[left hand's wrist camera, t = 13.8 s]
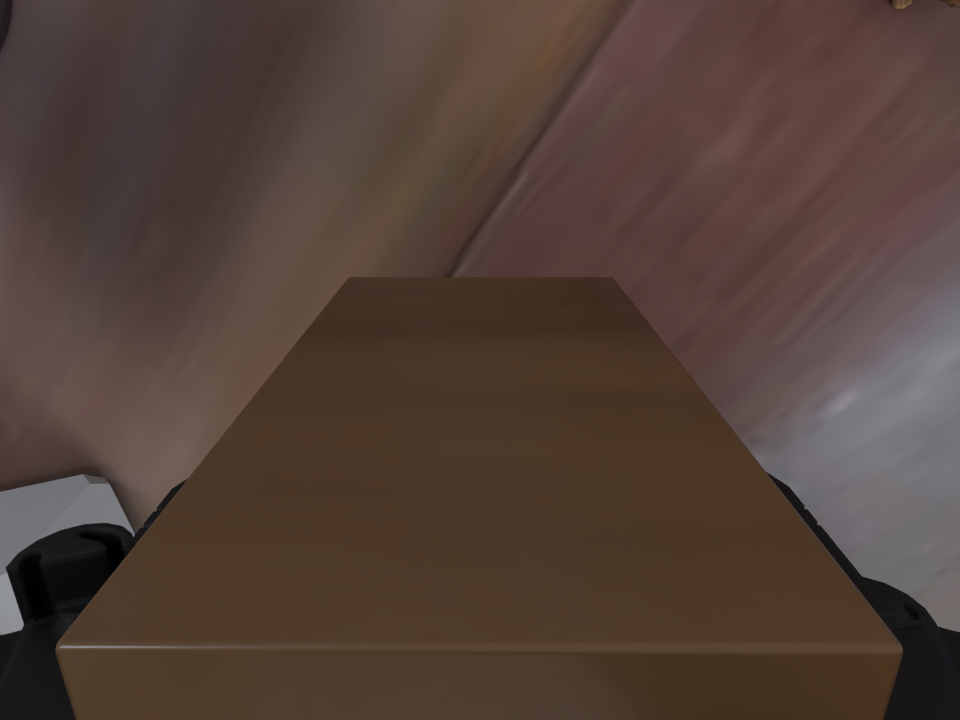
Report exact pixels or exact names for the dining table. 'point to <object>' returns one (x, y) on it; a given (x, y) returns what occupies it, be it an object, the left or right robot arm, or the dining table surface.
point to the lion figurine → (903, 0)
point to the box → (479, 537)
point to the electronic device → (48, 524)
